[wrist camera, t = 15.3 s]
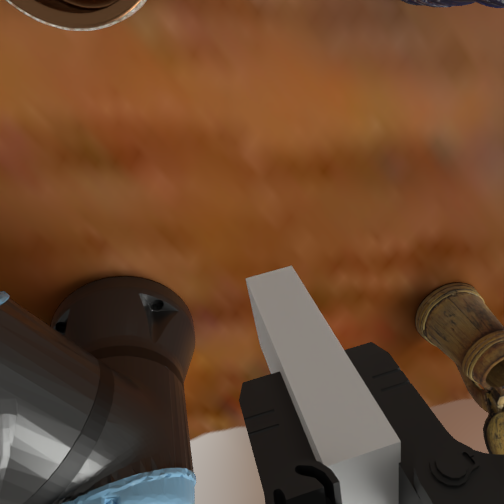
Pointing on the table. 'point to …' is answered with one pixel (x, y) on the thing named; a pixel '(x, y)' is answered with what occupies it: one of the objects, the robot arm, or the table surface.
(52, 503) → the robot arm
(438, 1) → the navy blue cylinder
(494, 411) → the wooden mug
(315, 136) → the table surface
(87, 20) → the planter
